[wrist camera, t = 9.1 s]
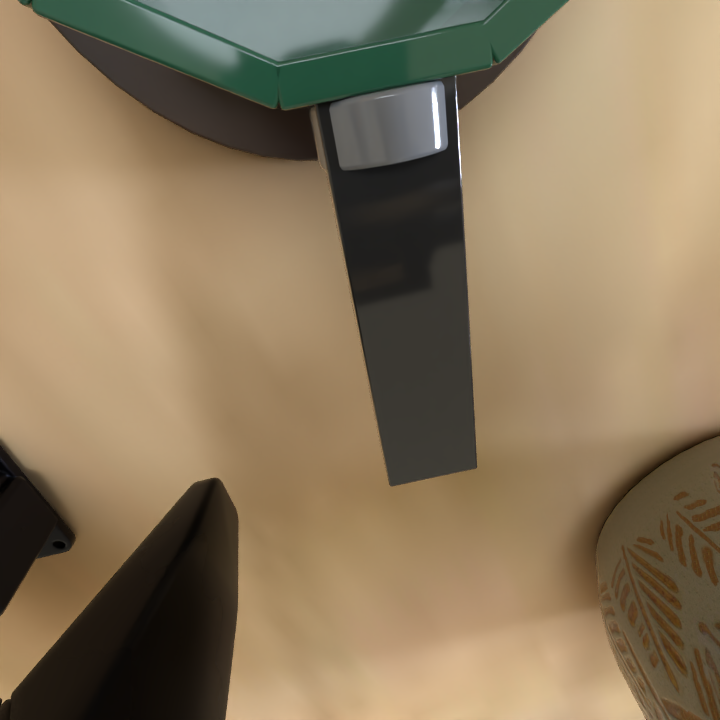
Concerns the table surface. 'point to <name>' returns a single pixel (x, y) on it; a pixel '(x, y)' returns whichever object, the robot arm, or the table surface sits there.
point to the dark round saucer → (228, 101)
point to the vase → (667, 586)
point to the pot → (362, 166)
